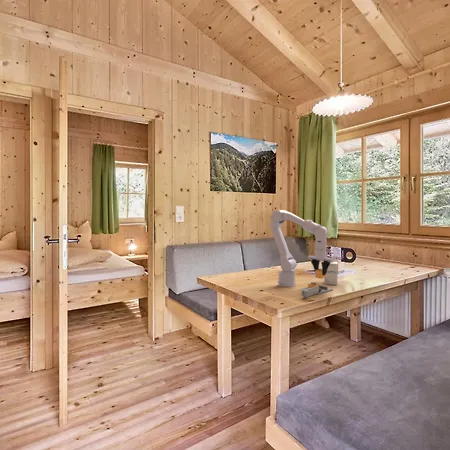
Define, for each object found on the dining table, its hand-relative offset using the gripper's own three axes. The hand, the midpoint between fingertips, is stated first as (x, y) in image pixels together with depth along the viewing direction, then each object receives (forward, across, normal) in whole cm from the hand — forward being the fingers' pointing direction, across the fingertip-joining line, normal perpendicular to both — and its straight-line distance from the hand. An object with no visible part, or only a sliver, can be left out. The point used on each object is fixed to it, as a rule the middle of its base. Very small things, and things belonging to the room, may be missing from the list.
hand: (320, 274), depth 168 cm
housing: (+9, +1, +3) cm, 10 cm away
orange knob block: (+2, 0, 0) cm, 2 cm away
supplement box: (+9, +6, -20) cm, 23 cm away
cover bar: (+8, -5, +14) cm, 17 cm away
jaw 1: (+8, 0, +6) cm, 10 cm away
